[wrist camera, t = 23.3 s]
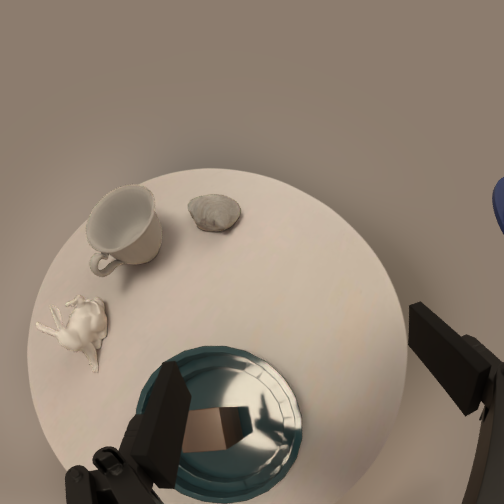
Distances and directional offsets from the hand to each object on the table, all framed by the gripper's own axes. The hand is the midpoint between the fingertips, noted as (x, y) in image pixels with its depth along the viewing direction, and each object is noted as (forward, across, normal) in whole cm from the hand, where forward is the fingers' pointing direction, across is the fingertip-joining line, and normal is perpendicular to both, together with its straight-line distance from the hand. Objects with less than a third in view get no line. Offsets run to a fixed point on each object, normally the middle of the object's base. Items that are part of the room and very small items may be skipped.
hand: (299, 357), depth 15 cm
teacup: (+34, -21, 0) cm, 40 cm away
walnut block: (+14, -10, -19) cm, 26 cm away
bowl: (+14, -10, -20) cm, 26 cm away
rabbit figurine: (+26, -31, -8) cm, 41 cm away
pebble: (+37, -7, +3) cm, 38 cm away
